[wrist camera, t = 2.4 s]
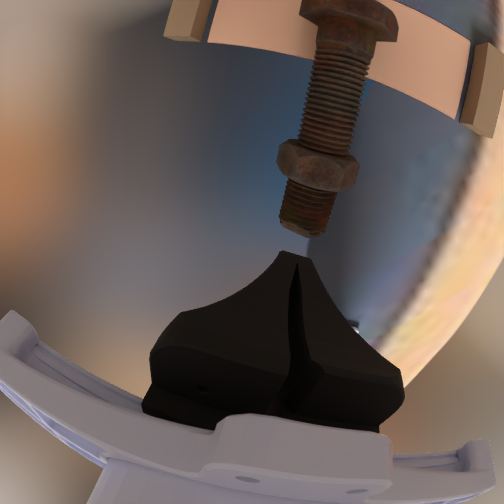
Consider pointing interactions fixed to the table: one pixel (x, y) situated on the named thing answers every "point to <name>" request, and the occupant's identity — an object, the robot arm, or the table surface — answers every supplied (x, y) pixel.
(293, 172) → the bolt
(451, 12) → the table surface
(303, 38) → the strip
